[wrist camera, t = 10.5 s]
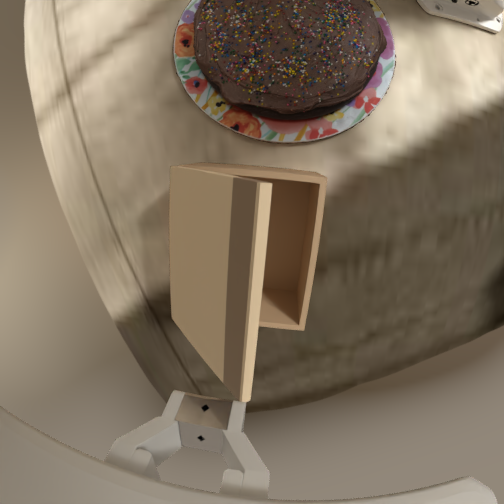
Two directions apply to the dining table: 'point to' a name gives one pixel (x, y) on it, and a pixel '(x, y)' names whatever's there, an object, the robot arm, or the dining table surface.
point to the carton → (286, 239)
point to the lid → (219, 268)
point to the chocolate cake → (285, 64)
